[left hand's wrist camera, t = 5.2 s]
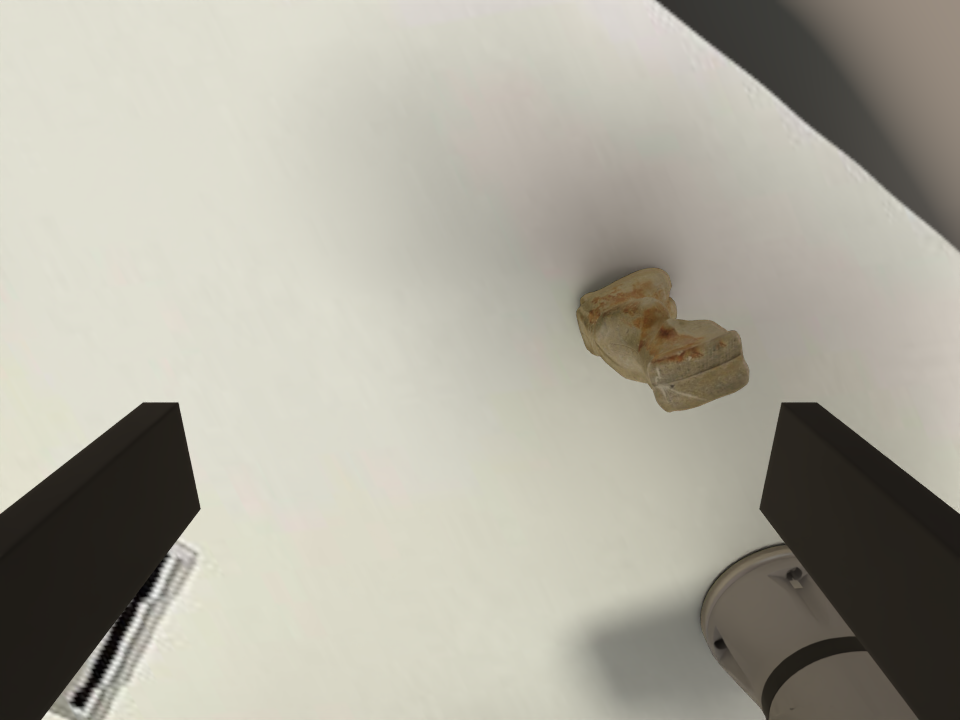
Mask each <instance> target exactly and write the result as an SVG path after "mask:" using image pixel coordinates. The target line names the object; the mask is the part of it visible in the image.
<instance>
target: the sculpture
mask: <svg viewBox="0 0 960 720" xmlns="http://www.w3.org/2000/svg"><path fill="white" fill-rule="evenodd" d="M671 287H672V285H671V281H670V278H669V275H668V274H667V273H666V272H665V271H663V270H662V269H659V268H646V269H642V270H639V271H636V272H634V273H631V274H629V275H627V276H625V277H623V278H621V279H619V280H617V281H615V282H613V283H611V284H610V285H608V286H606V287H604V288H602V289H600V290H598V291H595V292H590V293H587V294H586V295H584V296H583V297H582V298H581V299H580V305H581V306H580V307H579V308H578V309H577V312H576V315H577V320H578V324H579V328H580V332H581V335H582V338H583V341H584V343H585V346H586V348H587V350H589V351H590V352H591V353H592V354H594V355H596V356H601V357H602V359H603V360H604V361H605V362H606V363H607V364H608V365H609V366H611V367H612V368H613V369H614V370H615V371H617V372H618V373H619V374H620V375H622V376H623V377H625V378H627V379H630V380H634V381H638V382H643V383H648V384H649V386H650V387H651V389H652V390H653V392H654V395H655V398H656V401H657V402H658V404H659V405H660V406H661V407H662V408H663V409H664V410H665V411H667V412H672V411H681V410H687V409H691V408H695V407H698V406H701V405H703V404H705V403H708V402H710V401H713V400H715V399H717V398H720V397H723V396H726V395H729V394H732V393H734V392H736V391H738V390H740V389H741V388H743V387H744V386H745V385H746V384H747V383H748V381H749V368H748V365H747V364H746V362H745V360H744V357H743V352H742V344H741V338H740V336H739V334H738V333H737V332H736V331H727V330H726V329H724V328H722V327H721V326H719V325H718V324H716V323H715V322H713V321H710V320H694V321H687V320H680V319H676V317H677V309H676V304H675V302H674V300H673V299H672V298H671V297H669V292H670V289H671Z"/></svg>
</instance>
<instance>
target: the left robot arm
mask: <svg viewBox="0 0 960 720" xmlns="http://www.w3.org/2000/svg"><path fill="white" fill-rule="evenodd" d="M200 509H201V508H200V504H199V499H198V494H197V489H196V484H195V480H194V475H193V470H192V465H191V461H190V456H189V451H188V446H187V441H186V437H185V432H184V427H183V422H182V417H181V413H180V408H179V403H142V404H141V405H139V406H138V407H137V408H136V409H134V410H133V411H132V412H130V413H129V414H128V415H127V416H125V417H124V418H123V419H121V420H120V421H119V422H118V423H116V424H115V425H114V426H112V427H111V428H110V429H109V430H107V431H106V432H105V433H103V434H102V435H101V436H100V437H98V438H97V439H96V440H95V441H93V442H92V443H91V444H89V445H88V446H87V447H86V448H84V449H83V450H82V451H80V452H79V453H78V454H77V455H75V456H74V457H73V458H71V459H70V460H69V461H68V462H66V463H65V464H64V465H63V466H61V467H60V468H59V469H57V470H56V471H55V472H54V473H52V474H51V475H50V476H48V477H47V478H46V479H45V480H43V481H42V482H41V483H39V484H38V485H37V486H36V487H34V488H33V489H32V490H31V491H29V492H28V493H27V494H25V495H24V496H23V497H22V498H20V499H19V500H18V501H16V502H15V503H14V504H13V505H11V506H10V507H9V508H7V509H6V510H5V511H4V512H2V513H1V514H0V720H41V719H42V718H43V717H44V715H45V714H46V713H47V711H48V710H49V709H50V707H51V706H52V705H53V703H54V702H55V701H56V699H57V698H58V697H59V695H60V694H61V693H62V692H63V690H64V689H65V688H66V686H67V685H68V684H69V682H70V681H71V680H72V678H73V677H74V676H75V674H76V673H77V672H78V670H79V669H80V668H81V666H82V665H83V664H84V662H85V661H86V660H87V658H88V657H89V656H90V655H91V653H92V652H93V651H94V649H95V648H96V647H97V645H98V644H99V643H100V641H101V640H102V639H103V637H104V636H105V635H106V633H107V632H108V631H109V629H110V628H111V627H112V625H113V624H114V623H115V621H116V620H117V619H118V617H119V616H120V615H121V614H122V612H123V611H124V610H125V608H126V607H127V606H128V604H129V603H130V602H131V600H132V599H133V598H134V596H135V595H136V594H137V592H138V591H139V590H140V588H141V587H142V586H143V584H144V583H145V582H146V580H147V579H148V578H149V576H150V575H151V574H152V573H153V571H154V570H155V569H156V567H157V566H158V565H159V563H160V562H161V561H162V559H163V558H164V557H165V555H166V554H167V553H168V551H169V550H170V549H171V547H172V546H173V545H174V543H175V542H176V541H177V539H178V538H179V537H180V535H181V534H182V533H183V532H184V530H185V529H186V528H187V526H188V525H189V524H190V522H191V521H192V520H193V518H194V517H195V516H196V514H197V513H198V512H199V510H200ZM759 509H760V510H761V512H762V513H763V514H764V516H765V517H766V518H767V520H768V521H769V522H770V524H771V525H772V526H773V528H774V529H775V530H776V532H777V533H778V534H779V535H780V537H781V538H782V539H783V541H784V542H785V543H786V545H780V546H776V547H771V548H768V549H764V550H761V551H759V552H756V553H754V554H751V555H749V556H747V557H745V558H744V559H742V560H740V561H738V562H737V563H735V564H734V565H732V566H731V567H730V568H729V569H727V570H726V571H725V572H724V573H723V574H722V575H721V576H720V577H719V578H718V579H717V580H716V581H715V583H714V584H713V585H712V587H711V588H710V590H709V592H708V593H707V595H706V597H705V600H704V603H703V606H702V610H701V627H702V631H703V634H704V637H705V639H706V641H707V644H708V646H709V648H710V650H711V652H712V654H713V656H714V657H715V659H716V660H717V661H718V663H719V664H720V665H721V666H722V668H723V669H724V670H725V671H726V672H727V673H728V674H729V675H730V676H731V677H732V678H733V679H734V680H735V681H736V682H737V684H738V685H739V686H740V687H741V688H742V689H743V690H744V691H745V692H746V693H747V694H748V695H749V696H750V697H751V698H752V699H753V701H754V702H755V703H756V704H757V705H758V706H759V707H760V708H761V709H762V711H763V713H764V715H765V717H766V719H767V720H960V514H959V513H958V512H956V511H955V510H954V509H953V508H951V507H950V506H949V505H947V504H946V503H945V502H944V501H942V500H941V499H940V498H938V497H937V496H936V495H935V494H933V493H932V492H931V491H929V490H928V489H927V488H926V487H924V486H923V485H922V484H921V483H919V482H918V481H917V480H915V479H914V478H913V477H912V476H910V475H909V474H908V473H906V472H905V471H904V470H903V469H901V468H900V467H899V466H897V465H896V464H895V463H894V462H892V461H891V460H890V459H889V458H887V457H886V456H885V455H883V454H882V453H881V452H880V451H878V450H877V449H876V448H874V447H873V446H872V445H871V444H869V443H868V442H867V441H865V440H864V439H863V438H862V437H860V436H859V435H858V434H857V433H855V432H854V431H853V430H851V429H850V428H849V427H848V426H846V425H845V424H844V423H842V422H841V421H840V420H839V419H837V418H836V417H835V416H833V415H832V414H831V413H830V412H828V411H827V410H826V409H824V408H823V407H822V406H821V405H819V404H818V403H781V408H780V413H779V417H778V422H777V427H776V432H775V437H774V441H773V446H772V451H771V456H770V461H769V465H768V470H767V475H766V480H765V484H764V489H763V494H762V499H761V504H760V508H759Z"/></svg>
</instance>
